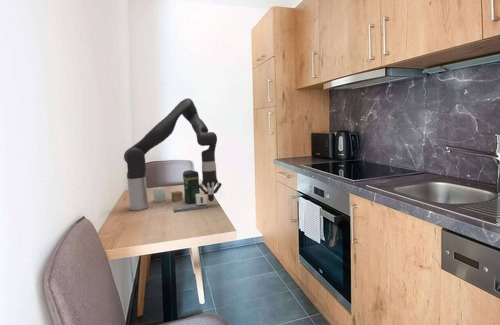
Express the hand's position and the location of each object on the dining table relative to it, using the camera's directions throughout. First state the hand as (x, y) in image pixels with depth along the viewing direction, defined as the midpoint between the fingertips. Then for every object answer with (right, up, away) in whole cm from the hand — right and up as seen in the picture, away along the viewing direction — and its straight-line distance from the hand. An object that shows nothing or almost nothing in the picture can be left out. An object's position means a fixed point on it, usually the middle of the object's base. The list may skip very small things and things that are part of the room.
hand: (211, 201), depth 155 cm
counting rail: (-11, -3, -3) cm, 12 cm away
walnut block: (-23, -2, +17) cm, 28 cm away
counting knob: (-5, -1, -2) cm, 5 cm away
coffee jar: (-12, -2, +10) cm, 16 cm away
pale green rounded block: (-33, -2, +17) cm, 37 cm away
